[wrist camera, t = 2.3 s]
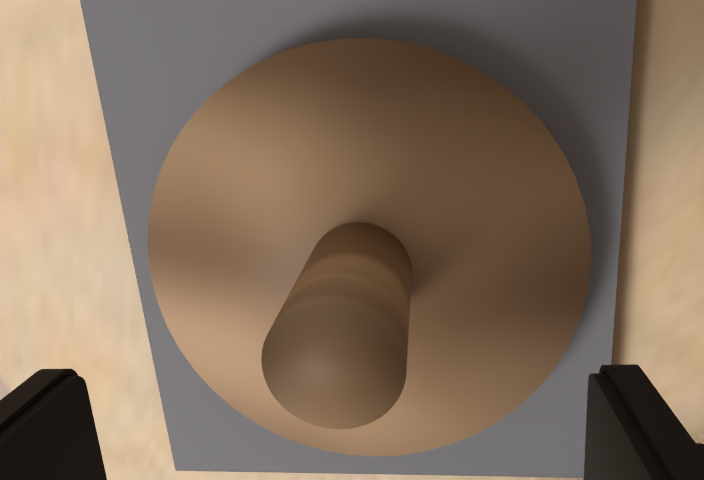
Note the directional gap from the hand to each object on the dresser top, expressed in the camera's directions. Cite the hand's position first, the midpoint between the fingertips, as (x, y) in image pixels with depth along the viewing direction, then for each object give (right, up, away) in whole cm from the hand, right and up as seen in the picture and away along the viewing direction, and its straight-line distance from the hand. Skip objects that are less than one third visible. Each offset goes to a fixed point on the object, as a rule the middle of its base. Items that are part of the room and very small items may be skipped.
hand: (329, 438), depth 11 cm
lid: (+1, +3, +6) cm, 7 cm away
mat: (+1, +3, +7) cm, 7 cm away
